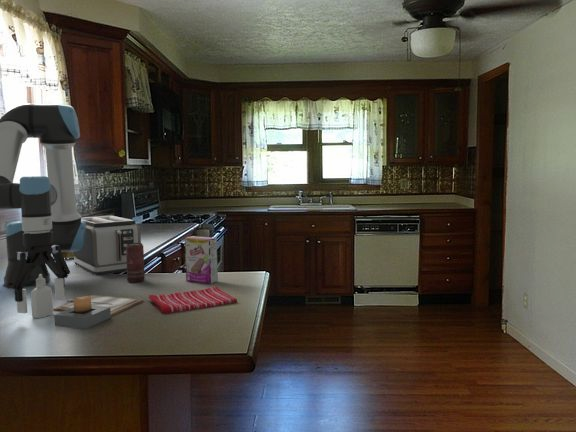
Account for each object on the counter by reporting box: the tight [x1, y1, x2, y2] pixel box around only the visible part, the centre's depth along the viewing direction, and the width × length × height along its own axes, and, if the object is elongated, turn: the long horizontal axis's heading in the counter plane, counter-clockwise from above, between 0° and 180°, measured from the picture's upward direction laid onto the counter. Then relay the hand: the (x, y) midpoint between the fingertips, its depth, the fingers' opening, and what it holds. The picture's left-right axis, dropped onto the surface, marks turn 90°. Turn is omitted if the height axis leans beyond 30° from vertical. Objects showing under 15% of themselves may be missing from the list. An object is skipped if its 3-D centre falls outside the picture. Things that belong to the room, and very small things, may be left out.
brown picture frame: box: [53, 294, 145, 317], centre depth 147 cm, size 22×16×1 cm
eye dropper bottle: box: [30, 274, 54, 319], centre depth 136 cm, size 4×6×12 cm
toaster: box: [73, 215, 142, 276], centre depth 205 cm, size 19×35×20 cm, turn 39°
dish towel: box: [148, 286, 238, 315], centre depth 150 cm, size 17×24×3 cm
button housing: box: [53, 305, 112, 330], centre depth 131 cm, size 10×10×3 cm
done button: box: [72, 295, 91, 311], centre depth 131 cm, size 4×4×3 cm
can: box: [126, 242, 146, 284], centre depth 178 cm, size 6×6×14 cm
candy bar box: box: [184, 235, 219, 285], centre depth 176 cm, size 11×5×16 cm, turn 65°
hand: (42, 306), depth 137 cm, fingers open, 13 cm apart
